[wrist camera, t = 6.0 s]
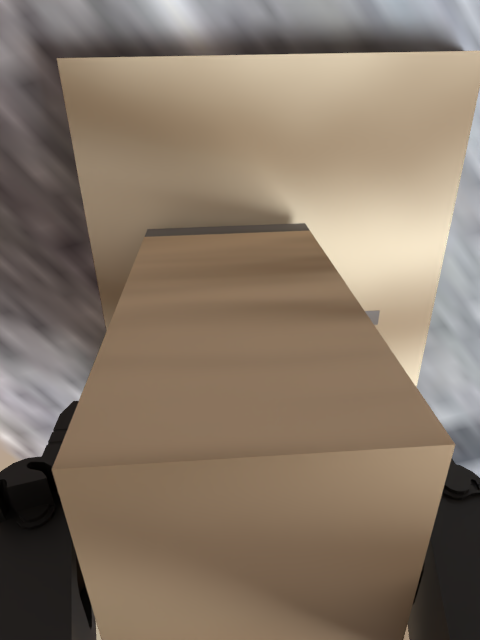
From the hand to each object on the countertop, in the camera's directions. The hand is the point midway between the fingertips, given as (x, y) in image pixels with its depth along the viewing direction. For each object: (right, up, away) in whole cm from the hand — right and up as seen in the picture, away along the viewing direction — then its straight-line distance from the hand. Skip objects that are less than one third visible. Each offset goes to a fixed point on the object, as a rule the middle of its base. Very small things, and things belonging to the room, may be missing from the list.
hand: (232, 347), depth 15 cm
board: (+1, +2, +2) cm, 3 cm away
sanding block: (0, 0, +1) cm, 1 cm away
